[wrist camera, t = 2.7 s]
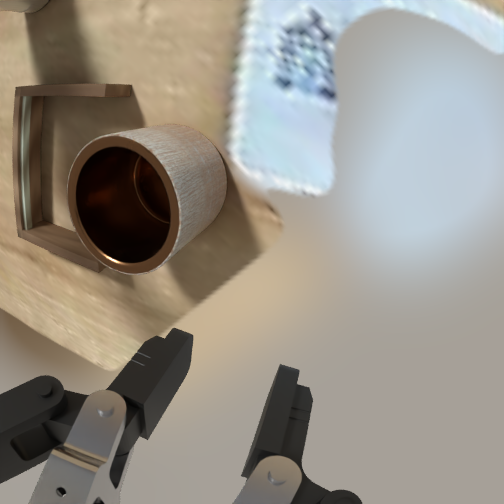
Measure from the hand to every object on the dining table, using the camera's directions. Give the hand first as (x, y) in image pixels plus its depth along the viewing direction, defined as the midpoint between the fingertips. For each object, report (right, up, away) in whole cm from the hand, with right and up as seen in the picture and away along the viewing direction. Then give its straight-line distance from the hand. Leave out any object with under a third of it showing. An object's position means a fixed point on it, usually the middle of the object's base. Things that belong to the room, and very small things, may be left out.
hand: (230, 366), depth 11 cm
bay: (-20, +14, +21) cm, 32 cm away
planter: (-6, +11, +19) cm, 23 cm away
